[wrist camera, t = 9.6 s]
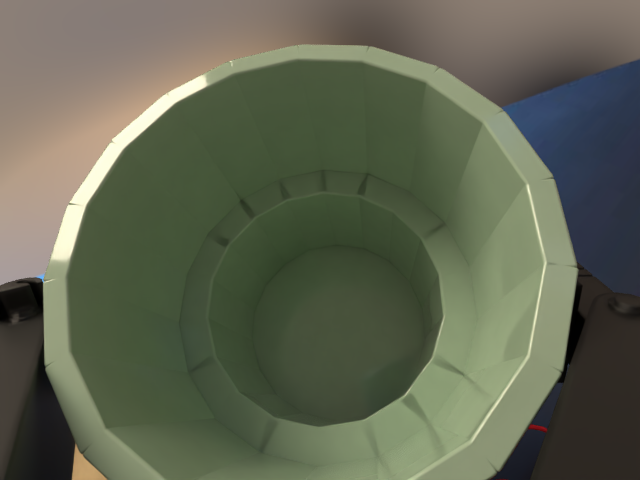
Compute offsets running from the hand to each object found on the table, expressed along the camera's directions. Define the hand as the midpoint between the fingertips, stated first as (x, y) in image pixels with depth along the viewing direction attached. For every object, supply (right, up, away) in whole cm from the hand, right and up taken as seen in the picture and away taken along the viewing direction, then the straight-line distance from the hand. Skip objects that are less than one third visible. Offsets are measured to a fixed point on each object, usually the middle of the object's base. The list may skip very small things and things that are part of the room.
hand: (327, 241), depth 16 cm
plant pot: (+1, -4, +3) cm, 5 cm away
